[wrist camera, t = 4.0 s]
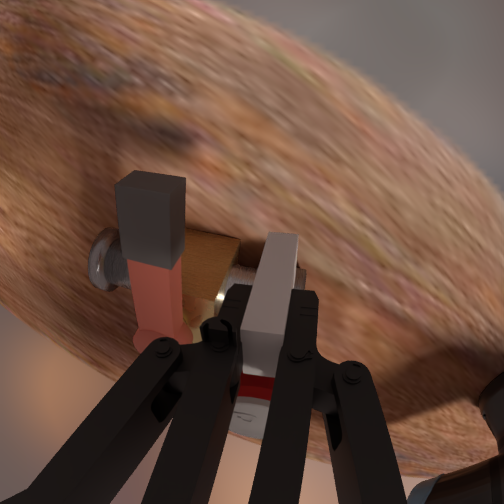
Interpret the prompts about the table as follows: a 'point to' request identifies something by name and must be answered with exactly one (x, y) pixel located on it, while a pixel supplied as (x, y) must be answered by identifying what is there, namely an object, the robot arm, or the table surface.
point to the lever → (154, 252)
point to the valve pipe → (183, 272)
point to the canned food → (252, 405)
